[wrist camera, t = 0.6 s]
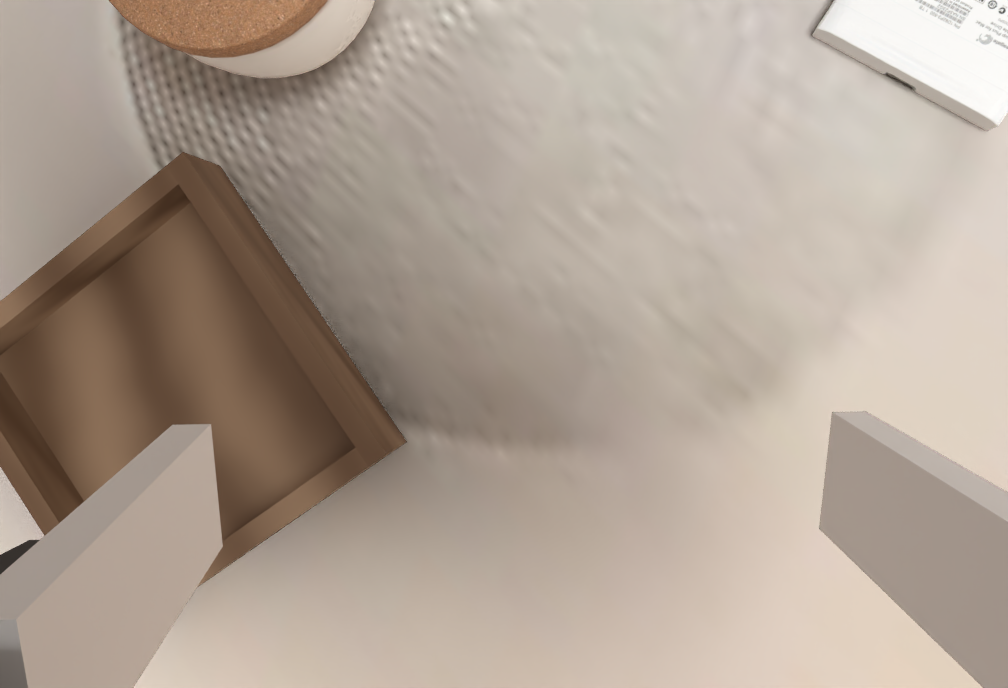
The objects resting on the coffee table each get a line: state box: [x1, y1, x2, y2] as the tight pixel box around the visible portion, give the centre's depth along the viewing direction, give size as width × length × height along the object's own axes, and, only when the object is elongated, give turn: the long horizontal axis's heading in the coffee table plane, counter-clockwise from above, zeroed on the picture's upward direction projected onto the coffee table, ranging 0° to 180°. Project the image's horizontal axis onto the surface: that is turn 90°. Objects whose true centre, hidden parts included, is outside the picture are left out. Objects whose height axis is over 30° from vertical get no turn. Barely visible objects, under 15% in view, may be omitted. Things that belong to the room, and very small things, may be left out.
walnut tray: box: [0, 152, 406, 587], centre depth 34 cm, size 16×16×3 cm
